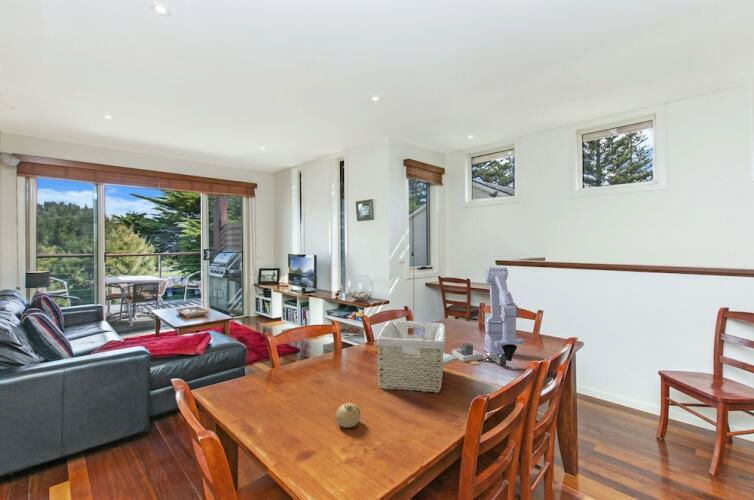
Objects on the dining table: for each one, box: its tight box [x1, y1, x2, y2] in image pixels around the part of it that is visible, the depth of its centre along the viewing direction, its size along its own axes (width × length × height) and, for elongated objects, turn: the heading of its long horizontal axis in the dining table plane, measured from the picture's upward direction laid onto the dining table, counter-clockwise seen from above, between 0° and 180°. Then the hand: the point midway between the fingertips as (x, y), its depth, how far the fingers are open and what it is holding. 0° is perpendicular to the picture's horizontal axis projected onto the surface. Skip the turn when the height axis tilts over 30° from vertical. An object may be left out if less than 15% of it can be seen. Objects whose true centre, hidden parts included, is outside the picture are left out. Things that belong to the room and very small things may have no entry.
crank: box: [486, 351, 507, 367], centre depth 165 cm, size 12×3×5 cm, turn 18°
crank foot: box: [484, 356, 496, 364], centre depth 169 cm, size 5×5×1 cm
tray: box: [451, 348, 484, 363], centre depth 174 cm, size 11×11×2 cm
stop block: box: [461, 342, 474, 356], centre depth 174 cm, size 4×4×6 cm
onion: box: [335, 402, 361, 429], centre depth 112 cm, size 8×8×7 cm
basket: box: [376, 320, 447, 394], centre depth 147 cm, size 27×27×22 cm
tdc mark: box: [467, 360, 481, 366], centre depth 166 cm, size 4×4×1 cm
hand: (508, 360), depth 161 cm, fingers closed
